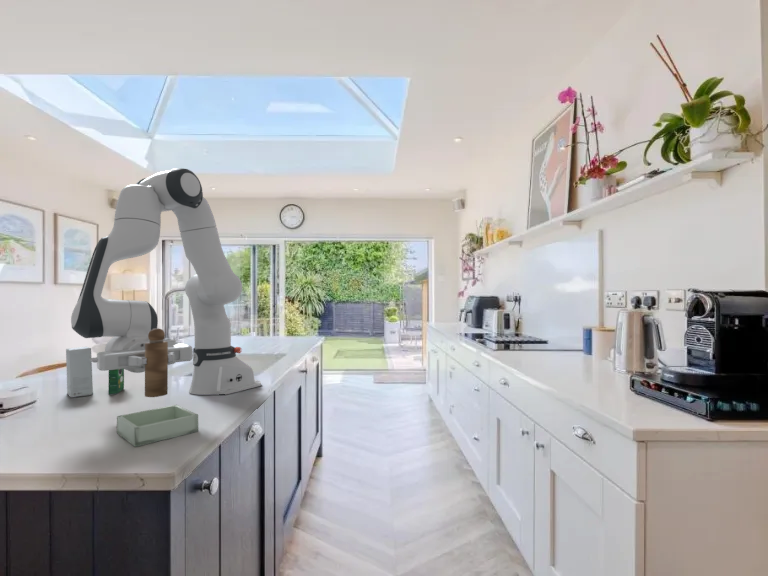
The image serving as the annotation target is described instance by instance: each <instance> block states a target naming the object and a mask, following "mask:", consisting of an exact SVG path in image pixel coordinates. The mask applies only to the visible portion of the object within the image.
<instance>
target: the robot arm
mask: <svg viewBox="0 0 768 576" xmlns="http://www.w3.org/2000/svg"><path fill="white" fill-rule="evenodd" d="M203 193H204V192H203V187H202V183H201V181H200V180H199V177H198V176H197V175H196V174H195V173H194V172H193V171H192V170H190V169H188V168H182V167H181V168H179V167H178V168H172V169H170V170H165V171H164V170H163V171H160V172H156V173H154V174H153V175H151V176H148V177H144V178H142V179H140V180H138V181H137V182H136V183H135V184H129V185H126V186H125V187H123V188H122V189H121V190H120V193H119V196H118V200H117V203H116V206H115V211H114V218H113V219H114V220H113V227H112V229H111V231H110V233H109V234H107V236H105V237H101V238H100V239H99V240H98V242H97V243H96V245H95V247H94V250H93V253H92V255H91V258H90V260H89V261H90V262H89V264H88V267H87V270H86V274H85V277H84V281H83V284H82V287H81V291H80V294H79V296H78V299H77V303H76V304H75V305H74V308H73V310H72V314H71V316H70V318H71V319H70V323H71V329H72V330H73V331H74V332H76V334H77V335H79V336H81V337H82V338H84V339H92V338H93V339H94V338H102V337H105V338H106V337H109V338H110V337H112V338H110V339H109V340H108V341H107V343H106V344H105V347H104V351H99V352H97V354H96V357H91V362H92V363H96V369H98V370H99V371H102V372H103V371H104V372H105V371H109V370H115V369H124V371H125V370H126V371H128V372H131V373H136V374H140V373H145V365H147V362H146V361H147V358H146V357H145V343H147V342H150V340H149V338H148V334H149V332H150V331H151V330H152V329H155V328H158V322H159V321H158V320H159V319H158V314H157V312H156V310H155V309H154V307H153V306H152V304H150V302H148V301H145V300H133V299H132V300H131V299H130V300H129V299H110V298H103V297H102V293H103V289H104V286H105V282H106V279H107V275H108V273H109V270H110V267H111V266H112V265H113V264H114V263H116V262H119V261H122V260H127V259H128V260H129V259H133V258H137V257H141V256H144V255H146V254H149V253H151V252H152V251H153V250H154V249H155V248H156V247H157V246H158V245H159V243H160V242H159V241H160V236H161V223H162V222H161V221H162V219H161V218H162V216H161V214H162V213H163V212H169V211H171V212H172V213H173V214H174V215H175V217H176V218H177V224H178V225H177V226H178V231H179V233H180V238H181V242H182V246H183V250H184V254H185V257H186V258H187V260H188V261H189V263H190V264H191V265H192V267H193V270H194V271H195V273H196V274H194V275H192V276H191V277H189V278H188V280H187V281H186V283H185V285H184V291H185V295H186V296H187V298H188V300H189V305H190V309H191V313H192V318H193V327H194V348H193V347H192V346H191V345H190V344H187V343H184V342H178V341H177V340H176V339H174V338H173V339H172V338H164V339H163V341H165V342H168V366H170V365H174V364H176V363H183V362H191V361H192V363H193V372H192V380H191V384H190V387H189V390H188V393H190V394H193V395H203V396H204V395H205V396H206V395H219V394H225V395H229V394H233V393H237V392H242V391H245V390H250V389H254V388H259V387H261V386H262V382H261V381H260V380H258V379H256V378H255V374H254V371H253V370H254V369H253V368H252V367H251V365H249V364H248V363H246V362H245V361H243V360H242V359H240V358H239V357H238V356H237V355H236V354H241V353H242V352H243V350H242V348H241V347H240V346H236V347H234V346H232V343H231V342H232V341H231V340H232V335H231V333H232V328H231V327H232V325H231V320H230V319H229V317H228V315H227V312H226V308H225V305H228V304H231V303H233V302H235V301H236V300H238V299H239V297H240V296H241V294H242V291H243V284H242V281H241V278H239V277H238V276H237V274H235V272H234V271H233V269H232V268H231V266H230V263H229V262H228V260H227V258H226V255H225V253H224V251H223V248H222V244H221V243H222V242H221V241H220V240H221V239H220V236H219V232H218V228H217V224H216V220H215V217H214V215H213V212H212V209H211V207H210V205H209V202H208V200H207V199H206V198H205V197H204V194H203Z"/></svg>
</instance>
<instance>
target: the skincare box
mask: <svg viewBox="0 0 768 576" xmlns="http://www.w3.org/2000/svg"><path fill="white" fill-rule="evenodd" d="M65 358H66V360H65V361H66V362H65V363H66V389H67V390H66V392H67V393H66V394H67V395H68V396H69V397H70V398H77V397H86V396H93V395H94V388H93V385H94V384H93V364H92V363H93V362H91V358H92V347H90V346H89V347H88V346H80V347H71V348H66V349H65Z"/></svg>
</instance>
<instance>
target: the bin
mask: <svg viewBox="0 0 768 576" xmlns="http://www.w3.org/2000/svg"><path fill="white" fill-rule="evenodd" d="M197 432H199V414H198V413H196V412H193V411H192V410H188V409H187V408H184V407H183V406H180V405H178V404H173V405H168V406H163V407H159V408H152V409H148V410H142V411H137V412H133V413H127V414H122V415H117V416H116V433H117V434H118V435H119V436H120V435H121V436H120V437H122V438H123V439H124V440H125V441H127V442H128V443H130V445H132V446H133V447H135V448H136V447H140V446H144V445H148V444H152V443H156V442H160V441H164V440H170V439H173V438H177V437H180V436H185V435H189V434H193V433H197Z"/></svg>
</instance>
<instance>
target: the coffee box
mask: <svg viewBox="0 0 768 576" xmlns="http://www.w3.org/2000/svg"><path fill="white" fill-rule="evenodd" d="M107 383H108V386H107V387H108V389H107V390H108V393H107V394H108V395H109V396H110V395H117V394H120V393H121V392H122V391H124V389H125V369H115V370H108V382H107Z"/></svg>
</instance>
